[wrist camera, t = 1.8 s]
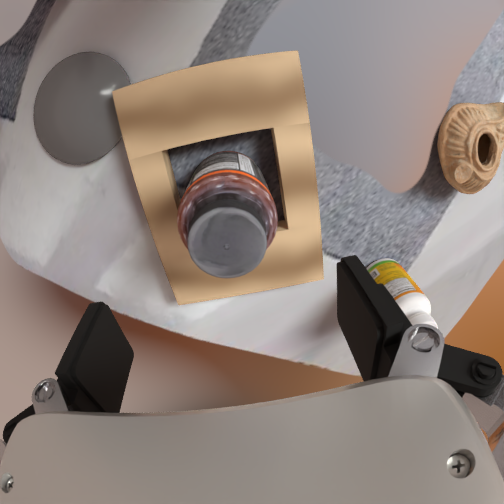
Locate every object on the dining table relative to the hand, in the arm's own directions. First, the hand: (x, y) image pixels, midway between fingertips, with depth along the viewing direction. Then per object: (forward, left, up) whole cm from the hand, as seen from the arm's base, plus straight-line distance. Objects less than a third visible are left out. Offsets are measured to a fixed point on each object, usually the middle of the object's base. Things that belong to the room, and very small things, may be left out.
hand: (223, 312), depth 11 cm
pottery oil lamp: (-3, +25, -16) cm, 30 cm away
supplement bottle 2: (+12, +14, -16) cm, 25 cm away
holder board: (-1, 0, -15) cm, 15 cm away
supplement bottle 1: (-1, 0, -16) cm, 16 cm away
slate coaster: (-11, -11, -15) cm, 22 cm away
